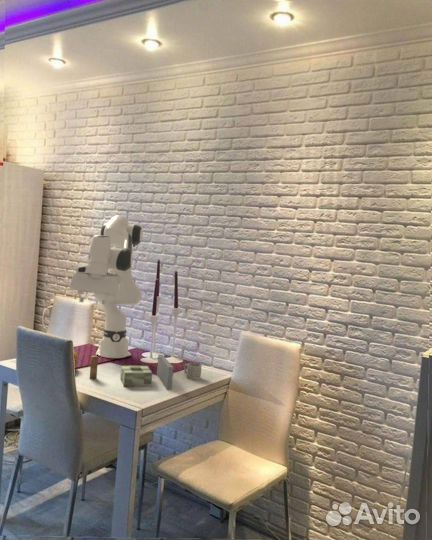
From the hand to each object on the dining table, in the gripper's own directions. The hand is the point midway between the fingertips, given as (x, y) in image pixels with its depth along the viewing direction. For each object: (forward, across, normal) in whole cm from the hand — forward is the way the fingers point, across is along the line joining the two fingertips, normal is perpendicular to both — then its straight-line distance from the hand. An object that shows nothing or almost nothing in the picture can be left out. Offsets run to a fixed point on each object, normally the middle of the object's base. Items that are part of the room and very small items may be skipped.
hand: (92, 303), depth 205 cm
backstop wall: (+30, -34, -20) cm, 50 cm away
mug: (+28, -46, -30) cm, 62 cm away
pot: (+30, +13, -30) cm, 44 cm away
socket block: (+32, -21, -17) cm, 42 cm away
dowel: (+32, -2, -19) cm, 37 cm away
